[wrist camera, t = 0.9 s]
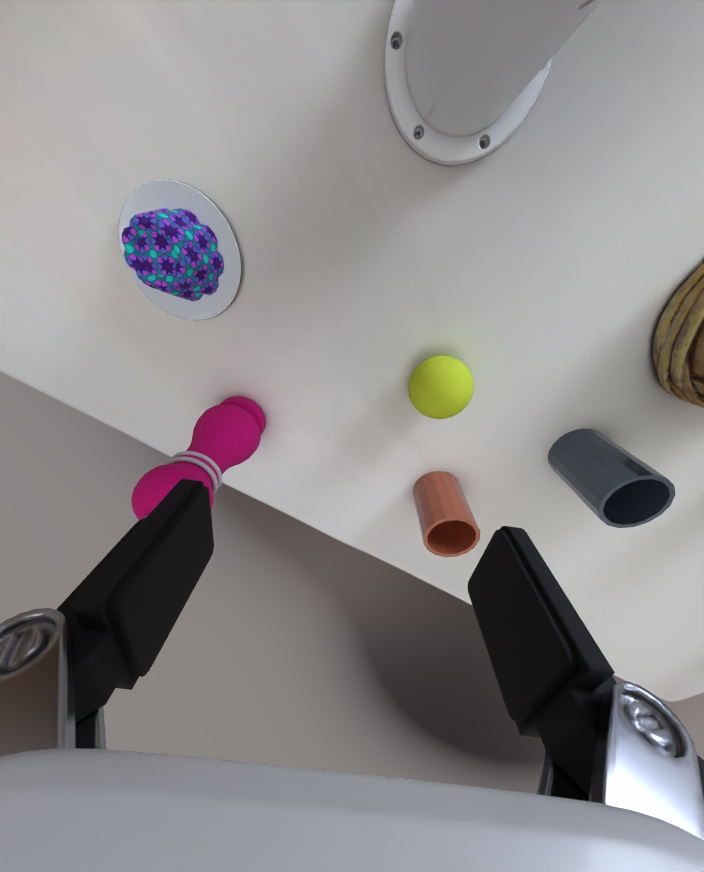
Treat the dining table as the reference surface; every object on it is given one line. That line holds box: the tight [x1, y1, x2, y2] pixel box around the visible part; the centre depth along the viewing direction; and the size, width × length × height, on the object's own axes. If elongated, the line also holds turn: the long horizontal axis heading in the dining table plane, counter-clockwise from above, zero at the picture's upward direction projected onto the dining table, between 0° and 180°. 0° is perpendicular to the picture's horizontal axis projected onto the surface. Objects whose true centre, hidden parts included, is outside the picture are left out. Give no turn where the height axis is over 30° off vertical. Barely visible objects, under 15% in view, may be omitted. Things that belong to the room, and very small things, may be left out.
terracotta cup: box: [413, 472, 480, 557], centre depth 40 cm, size 7×7×9 cm
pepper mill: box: [131, 397, 266, 520], centre depth 30 cm, size 7×7×20 cm
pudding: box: [119, 179, 241, 320], centre depth 28 cm, size 12×12×5 cm
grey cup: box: [548, 429, 675, 528], centre depth 35 cm, size 7×7×10 cm
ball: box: [408, 356, 474, 419], centre depth 33 cm, size 7×7×7 cm
